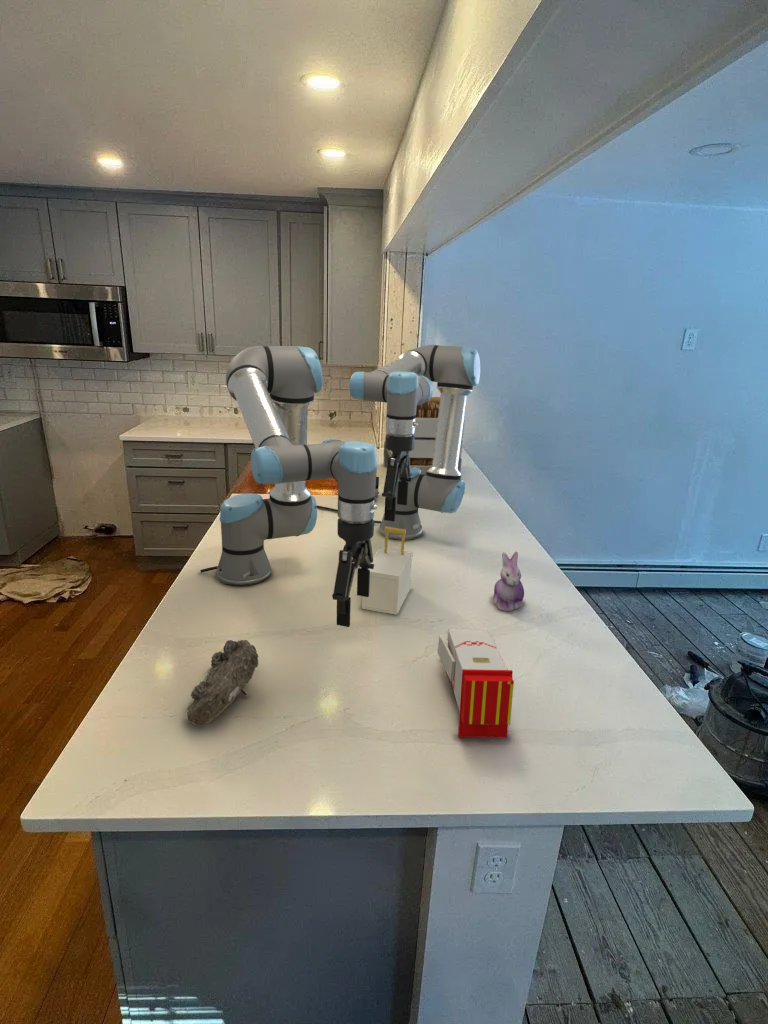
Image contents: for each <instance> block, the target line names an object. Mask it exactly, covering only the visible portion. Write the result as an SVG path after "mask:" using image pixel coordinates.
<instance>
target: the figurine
mask: <svg viewBox="0 0 768 1024" xmlns="http://www.w3.org/2000/svg"><path fill="white" fill-rule="evenodd" d="M501 558H502V559H501V560H502V568H501V570H500V574H499V575H500V579H498V580H497V581H496V582H495V584H494V588H493V598H492V600H493V604H494V605H495V606H496V607H497V609H498V610H500V611H504V612H505V611H506V612H512V611H513V610H518V609H519V608H521V605H522V604H523V601H524V598H525V589H524V585H523V583H522V581H521V578H522V573H521V570H520V568H519V566H518V560H519V552H518V551H515V552H514V553H513V554H512V556H511V558H509V557H508V555H507V553H506V552H505V551H503V552H502V553H501Z"/></svg>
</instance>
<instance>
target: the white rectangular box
mask: <svg viewBox="0 0 768 1024" xmlns="http://www.w3.org/2000/svg"><path fill="white" fill-rule="evenodd" d="M384 531H385V537H384V547H379V548H378V550H377V551H376V552H375V554H374V555H373V562H372V563H371V564H374V569H369V570H370V576H373V577H379V578H385V579H391V580H398V581H399V580H400V578H401V576H402V574H403V573H404V571H405V569H406V567H407V566H408V564H409V562H410V560H411V559H412V560H413V557H414V555H413V554H414V552H411V551H405V541H406V540H405V534H406V529H399V528H392V527H385V530H384ZM388 533H395V534H402V540H401V542H400V543H401V545H400V550H398V549H391V548H388V547H389V546H388V545H389V538H388Z"/></svg>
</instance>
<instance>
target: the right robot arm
mask: <svg viewBox="0 0 768 1024" xmlns="http://www.w3.org/2000/svg"><path fill="white" fill-rule="evenodd" d="M480 380H481V359H480V355H479V352H478V350H477V349H476V348H474V347H468V346H459V345H457V346H455V345H441V344H440V345H438V344H428V345H427V344H426V345H421V346H418V347H415V348H412V349H409V350H407V351H404V352H403V353H402V354H401V355H400V356H399V357H398V358H397V359H395V360H394V361H392V362H389V363H386V364H385V365H383V366H381V367H379V368H377V369H375V370H372V371H370V372H368V371H367V372H366V371H355V372H353V373H352V375H351V376H350V379H349V385H348V386H349V387H348V388H349V389H348V390H349V394H350V396H351V397H352V399H354V400H360V401H363V402H365V401H367V402H374V403H375V402H377V403H386V412H387V414H386V413H385V414H386V415H385V437H384V442H385V448H386V449H387V450H391V451H392V457H389V458H388V465H387V466H386V473H385V480H384V485H383V492H381V497H383V498H384V511H383V515H382V519H381V520H374V524H379V525H378V533H379V534H380V535H381V536H382V537H384V538H385V531H384V530H385V527H392V528H399V529H406V534H405V541H410V540H415V539H418V538H420V537H421V536H422V535H423V525H422V524H421V518H420V515H419V509H420V510H427V511H433V512H438V513H441V514H443V513H445V514H454V513H456V512H457V511H458V509H459V508H460V506H461V504H462V502H463V499H464V495H465V490H466V481H465V480H463V479H462V473H460V472H459V470H458V461H459V453H460V445H461V440H462V439H463V438H462V430H463V423H464V424H465V421H464V420H465V416H466V415H465V414H466V406H467V401H468V400H467V399H468V396H469V395H470V394H471V393H472V392H473V389H474V387H476V386H478V385H479V384H480ZM433 383H436V389H437V390H438V391H439V393H440V396H439V397H440V404H439V412H438V421H437V429H436V437H435V445H434V453H433V461H432V465H430V466H429V468H428V469H427V470H426V473H425V474H424V473H423V474H422V470H421V468H419V467H416V466H410V459H409V451H412V450H413V449H414V440H415V437H414V435H412V434H414V433H415V426H417V425H418V424H417V423H416V422H415V420H416V408H417V406H418V405H421V404H422V405H423V404H425V403H426V402H427V401H428V400H429V399H430V398H431V397H433V395H434V385H433ZM386 433H388V434H386ZM316 505H317V507H316V509H322V510H326V511H331V512H335V513H338V508H337V509H336V508H331V507H327V506H322V505H318V504H316ZM388 539H389V540H395V541H402V534H395V533H388Z"/></svg>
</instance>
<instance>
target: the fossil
mask: <svg viewBox="0 0 768 1024" xmlns="http://www.w3.org/2000/svg"><path fill="white" fill-rule="evenodd" d="M222 648H223V652H222V651H216V652H214V654H212V656H211V660H210V663H211V664H210V667H211V668H210V670H209V671H208V673H207V675H206V678H205V680H202V681H200V682H199V683H198V684H197V685H195V686H194V688H193V689H192V692H191V693H190V696H191V698H192V702H191V704H190V705H189V706H188V707H187V709H186V710H187V711H186V717H187V722H188V723H192V724H194V725H195V726H196V725H202V724H206V723H208V724H211V722H213V721H214V720H215V719H216V717H218V716H219V715H220V714H222V713H223V711H225V709H226V708H227V707H228V706H230V704H232V703H233V702H234V700H235V699H236V696H237V695H239V694H240V692H241V693H242V695H244V696H248V693H247V692H246V691H245V690H244V688H243V687H244V686H245V684H248V683H250V681H251V679H252V678H253V675H254V673H255V671H256V669H257V668H258V667H259V654H258V650H257V648H256V647H255V645H253V644H251V643H250V641H248V639H240V640H238V641H237V640H236V641H235V640H232V639H228V640H227V641H225V643H224V645H223V647H222Z"/></svg>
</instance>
